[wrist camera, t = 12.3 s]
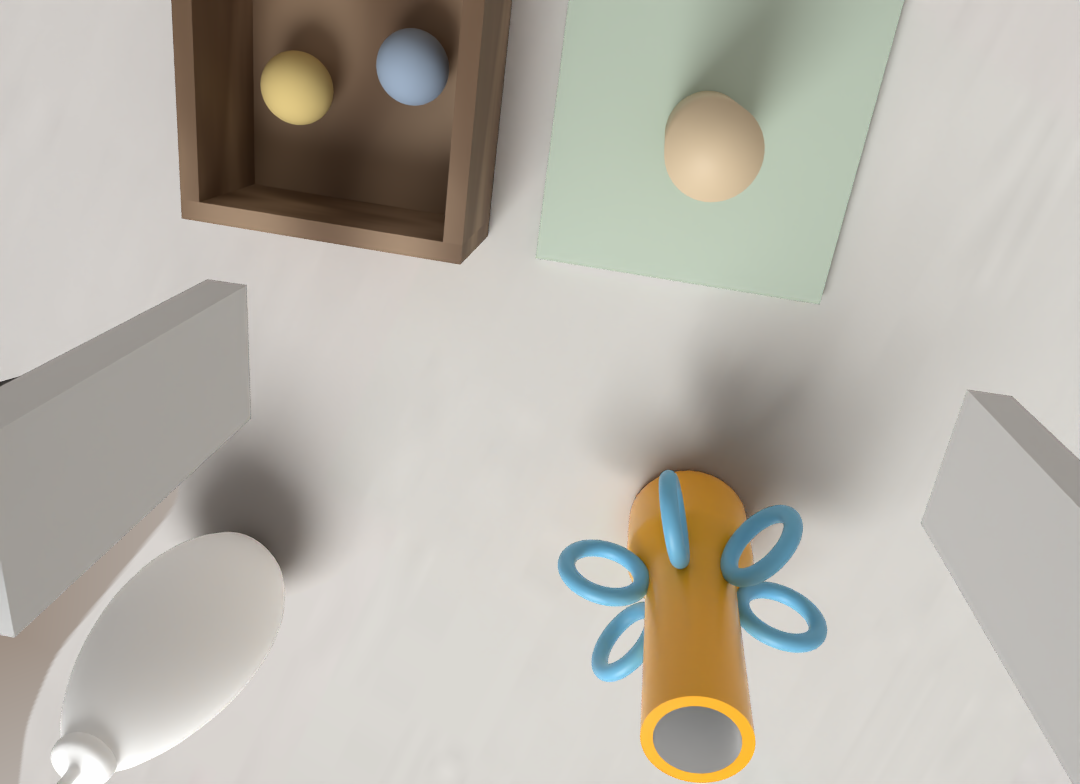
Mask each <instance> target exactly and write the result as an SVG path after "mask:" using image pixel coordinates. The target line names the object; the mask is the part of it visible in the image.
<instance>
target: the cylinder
mask: <svg viewBox="0 0 1080 784" xmlns="http://www.w3.org/2000/svg"><path fill="white" fill-rule="evenodd" d="M776 523H783V524H784V528H783V532H782V535H781V537H780V539H779V540H778V542H777V543H776V545H775V546H774V547H773V549H772V550H771V551H770V552H769V553H768V554H767V555H766V556H765V557H764V558H762V559H761V560H760V561H758V562H757V563H755V564H753V553H752V547H751V540H752V539H753V538H754V537H755V536H756V535H757V534H758V533H759V532H761V531H762V530H763V529H765V528H767V527H768V526H770V525H773V524H776ZM802 532H803V523H802V519H801V517H800V515H799V513H798V512H797V511H796V510H795V509H793V508H791V507H789V506H786V505H775V506H771V507H768V508H765V509H763V510H761V511H759V512H757V513H755V514H754V515H752V516H751V517H750V518H748V519H747V518H746V513H745V509H744V506H743V504H742V502H741V500H740V498H739V497H738V495H737V494H736V493H735V492H734V490H733V489H732V488H731V487H729V486H728V485H727V484H726V483H724V482H723V481H722V480H720V479H718V478H716V477H714V476H712V475H709V474H706V473H703V472H698V471H691V470H687V471H676V472H674V471H671V470H666V471H664V472H662V473H661V475H660V477H657V478H656V479H654V480H653V481H651V482H650V483H648V484H647V485H646V486H645V487H644V488H643V489H642V490H641V491H640V492H639V494H638V495H637V497H636V498H635V500H634V502H633V504H632V507H631V511H630V518H629V529H628V542H627V549H626V548H624V547H622V546H620V545H617V544H615V543H611V542H607V541H602V540H582V541H578V542H575V543H573V544H571V545H569V546H568V547H566V548H565V549H564V550H563V551H562V553H561V554H560V557H559V560H558V570H559V574H560V576H561V578H562V580H563V581H564V583H565V584H566V585H567V586H568V587H569V588H570V589H571V590H572V591H573V592H575V593H576V594H577V595H579V596H581V597H582V598H584V599H586V600H589V601H591V602H594V603H597V604H601V605H606V606H626V605H630V604H633V603H635V602H637V601H639V600H641V599H642V598H644V599H645V602H639V603H635V604H633V605H631V606H629V607H627V608H626V609H624V610H623V611H622V612H620V613H619V614H618V615H617V616H616V617H615V618H614V619H613V620H612V621H611V622H610V623H609V624H608V625H607V627H606V628H605V629H604V631H603V632H602V634H601V635H600V637H599V639H598V641H597V643H596V645H595V648H594V651H593V654H592V669H593V672H594V674H595V675H596V676H597V677H598V678H599V679H600V680H603V681H606V682H613V681H617V680H620V679H622V678H624V677H626V676H628V675H629V674H631V673H632V672H633V671H635V670H636V669H637V668H638V667H639V666H640V665H641V664H642V663H643V676H642V703H641V730H640V740H641V745H642V748H643V751H644V753H645V755H646V756H647V758H648V759H649V760H650V762H651V763H652V764H653V765H654V766H655V767H657V768H658V769H659V770H661V771H662V772H664V773H666V774H668V775H670V776H672V777H674V778H677V779H680V780H684V781H688V782H697V783H707V782H715V781H720V780H723V779H726V778H729V777H731V776H733V775H735V774H736V773H738V772H739V771H741V770H742V769H743V768H744V767H745V766H746V765H747V764H748V762H749V761H750V760H751V758H752V756H753V753H754V750H755V734H754V726H753V719H752V711H751V703H750V696H749V688H748V680H747V672H746V664H745V657H744V649H743V641H742V633H741V626H742V627H743V628H744V629H745V630H746V631H747V632H748V633H749V634H750V635H751V636H753V637H754V638H756V639H757V640H759V641H760V642H762V643H764V644H766V645H768V646H771V647H773V648H776V649H779V650H783V651H787V652H795V653H801V652H808V651H812V650H814V649H816V648H818V647H819V646H820V645H821V644H822V643H823V642H824V640H825V638H826V635H827V625H826V621H825V619H824V617H823V615H822V613H821V612H820V611H819V609H818V608H817V607H816V606H815V605H814V604H813V603H812V602H811V601H810V600H808V599H807V598H806V597H804V596H803V595H801V594H800V593H798V592H796V591H794V590H792V589H790V588H788V587H786V586H783V585H780V584H776V583H772V582H765V580H766V579H768V578H770V577H771V576H773V575H774V574H775V573H776V572H778V571H779V570H780V569H781V568H782V567H783V566H784V565H785V564H786V563H787V562H788V560H789V559H790V558H791V557H792V555H793V554H794V552H795V550H796V549H797V547H798V545H799V542H800V540H801V537H802ZM588 556H597V557H603V558H607V559H610V560H613V561H615V562H617V563H619V564H621V565H622V566H624V567H625V568H626V569H627V570H628V572H629V575H630V578H631V581H632V584H630V585H629V586H626V587H622V588H609V587H604V586H600V585H597V584H595V583H593V582H591V581H589V580H587V579H586V578H584V577H583V576H582V575H581V574H580V573H579V572H578V571H577V569H576V567H575V562H576V561H577V560H578V559H580V558H583V557H588ZM758 598H765V599H771V600H775V601H778V602H781V603H783V604H785V605H787V606H789V607H791V608H792V609H794V610H795V611H797V612H798V613H799V614H800V615H801V616H802V617H803V618H804V619H805V620H806V622H807V624H808V626H809V630H808V631H807V632H805V633H801V634H792V633H787V632H783V631H780V630H777V629H775V628H773V627H771V626H769V625H767V624H765V623H764V622H762V621H761V620H760V619H759V618H758V617H756V616H755V614H754V613H753V612H752V611H751V609H750V606H749V602H750V601H751V600H753V599H758ZM640 619H644V629H643V631H642V633H641V635H640V637H639V639H638V640H637V642H636V643H635V645H634V646H633V647H632V648H631V649H630V650H629V652H628V653H626V654H625V655H624V656H623V657H622V658H621V659H619V660H618V661H616V662H614V663H611V664H608V657H609V654H610V651H611V649H612V647H613V645H614V644H615V642H616V641H617V639H618V638H619V636H620V635H621V634H622V633H623V632H624V631H625V630H626V629H627V628H628V627H629V626H630V625H632V624H633V623H634V622H636V621H638V620H640Z"/></svg>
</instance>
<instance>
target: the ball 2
mask: <svg viewBox="0 0 1080 784" xmlns="http://www.w3.org/2000/svg"><path fill="white" fill-rule="evenodd" d="M376 69H377V75H378V78H379V81H380V83H381V85H382V87H383V88H384V90H385V91H386V92H387V93H388V94H389V95H390V96H391V97H392V98H393V99H395V100H396V101H398V102H400V103H403V104H406V105H412V106H418V105H424V104H427V103H429V102H431V101H433V100H434V99H435V98H437V97H438V96H439V95H440V94H441V92H442V91H443V89H444V88H445V86H446V83H447V80H448V76H449V62H448V57H447V55H446V52H445V50H444V48H443V47H442V45H441V44H440V42H439V41H438V40H437V39H436V38H435V37H434V36H432V35H431V34H429V33H428V32H426V31H423V30H420V29H416V28H405V29H401V30H398V31H396V32H394V33H392V34H391V35H390V36H388V37H387V38H386V39H385V41H384V42H383V43H382V45H381V47H380V49H379V51H378V55H377V60H376Z"/></svg>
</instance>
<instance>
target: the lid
mask: <svg viewBox="0 0 1080 784" xmlns="http://www.w3.org/2000/svg"><path fill="white" fill-rule="evenodd" d="M903 3H904V0H569V2H568V10H567V17H566V25H565V33H564V41H563V49H562V56H561V64H560V72H559V80H558V87H557V95H556V103H555V111H554V119H553V126H552V134H551V142H550V150H549V158H548V165H547V173H546V181H545V189H544V196H543V204H542V212H541V220H540V228H539V235H538V243H537V251H536V258H537V259H544V260H550V261H556V262H562V263H568V264H574V265H580V266H587V267H593V268H599V269H605V270H611V271H617V272H623V273H630V274H636V275H642V276H648V277H654V278H660V279H666V280H672V281H679V282H685V283H691V284H697V285H703V286H709V287H715V288H722V289H728V290H734V291H740V292H746V293H752V294H758V295H765V296H771V297H777V298H783V299H789V300H795V301H801V302H807V303H814V304H820V301H821V297H822V294H823V290H824V287H825V283H826V280H827V276H828V272H829V269H830V265H831V262H832V258H833V254H834V251H835V247H836V244H837V240H838V236H839V233H840V229H841V226H842V222H843V218H844V215H845V211H846V208H847V204H848V201H849V197H850V193H851V190H852V186H853V183H854V179H855V175H856V172H857V168H858V165H859V161H860V157H861V154H862V150H863V147H864V143H865V140H866V136H867V132H868V129H869V125H870V122H871V118H872V114H873V111H874V107H875V104H876V100H877V96H878V93H879V89H880V86H881V82H882V78H883V75H884V71H885V68H886V64H887V61H888V57H889V53H890V50H891V46H892V43H893V39H894V35H895V32H896V28H897V25H898V21H899V17H900V14H901V10H902V7H903Z"/></svg>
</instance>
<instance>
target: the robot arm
mask: <svg viewBox="0 0 1080 784" xmlns="http://www.w3.org/2000/svg"><path fill="white" fill-rule="evenodd" d="M250 419H251V402H250V371H249V341H248V311H247V285H243V284H236V283H229V282H222V281H215V280H208V279H207V280H205V281H203V282H201V283H199V284H197V285H195V286H193V287H191V288H189V289H188V290H186V291H184V292H182V293H180V294H178V295H176V296H174V297H172V298H170V299H168V300H166V301H164V302H162V303H160V304H159V305H157V306H155V307H153V308H151V309H149V310H147V311H145V312H143V313H141V314H139V315H137V316H135V317H133V318H132V319H130V320H128V321H126V322H124V323H122V324H120V325H118V326H116V327H114V328H112V329H110V330H108V331H106V332H104V333H103V334H101V335H99V336H97V337H95V338H93V339H91V340H89V341H87V342H85V343H83V344H81V345H79V346H77V347H76V348H74V349H72V350H70V351H68V352H66V353H64V354H62V355H60V356H58V357H56V358H54V359H52V360H50V361H48V362H47V363H45V364H43V365H41V366H39V367H37V368H35V369H33V370H31V371H29V372H27V373H25V374H23V375H21V376H19V377H16V378H12V379H9V380H5V381H2V382H0V635H4V636H10V637H16V635H18V634H19V633H20V632H21V631H22V630H23V629H24V628H25V627H26V626H27V625H29V624H30V622H32V621H33V620H34V619H35V618H36V617H37V616H38V615H39V614H40V613H41V612H42V611H44V610H45V609H46V608H47V607H48V606H49V605H50V604H51V603H52V602H53V601H54V600H56V598H58V597H59V596H60V595H61V594H62V593H63V592H64V591H65V590H66V589H67V588H68V587H69V586H71V585H72V584H73V583H74V582H75V581H76V580H77V579H78V578H79V577H80V576H81V575H82V574H83V573H85V572H86V571H87V570H88V569H89V568H90V567H91V566H92V565H93V564H94V563H95V562H96V561H97V560H98V559H100V558H101V557H102V556H103V555H104V554H105V553H106V552H107V551H108V550H109V549H111V547H112V546H114V545H115V544H116V543H117V542H118V541H119V540H120V539H121V538H122V537H123V536H125V535H126V534H127V533H128V532H129V531H130V530H131V529H132V528H133V527H134V526H135V525H136V524H137V523H138V522H140V521H141V520H142V519H143V518H144V517H145V516H146V515H147V514H148V513H149V512H150V511H152V510H153V509H154V508H155V507H156V506H157V505H158V504H159V503H160V502H161V501H162V500H163V499H164V498H166V497H167V496H168V495H169V494H170V493H171V492H172V491H173V490H174V489H175V488H176V487H177V486H179V485H180V484H181V483H182V482H183V481H184V480H185V479H186V478H187V477H188V476H189V475H190V474H191V473H193V472H194V471H195V470H196V469H197V468H198V467H199V466H200V465H201V464H202V463H203V462H204V461H205V460H207V459H208V458H209V457H210V456H211V455H212V454H213V453H214V452H215V451H216V450H217V449H218V448H220V447H221V446H222V445H223V444H224V443H225V442H226V441H227V440H228V439H229V438H230V437H231V436H232V435H234V434H235V433H236V432H237V431H238V430H239V429H240V428H241V427H242V426H243V425H244V424H245V423H246V422H248V421H249V420H250ZM921 524H922V526H923V528H924V529H925V531H926V533H927V535H928V536H929V538H930V540H931V541H932V543H933V545H934V547H935V548H936V550H937V552H938V553H939V555H940V557H941V559H942V560H943V562H944V564H945V566H946V567H947V569H948V571H949V572H950V574H951V576H952V578H953V579H954V581H955V583H956V584H957V586H958V588H959V590H960V591H961V593H962V595H963V596H964V598H965V600H966V602H967V603H968V605H969V607H970V608H971V610H972V612H973V614H974V615H975V617H976V619H977V620H978V622H979V624H980V626H981V627H982V629H983V631H984V632H985V634H986V636H987V638H988V639H989V641H990V643H991V645H992V646H993V648H994V650H995V651H996V653H997V655H998V657H999V658H1000V660H1001V662H1002V663H1003V665H1004V667H1005V669H1006V670H1007V672H1008V674H1009V675H1010V677H1011V679H1012V681H1013V682H1014V684H1015V686H1016V687H1017V689H1018V691H1019V693H1020V694H1021V696H1022V698H1023V699H1024V701H1025V703H1026V705H1027V706H1028V708H1029V710H1030V711H1031V713H1032V715H1033V717H1034V718H1035V720H1036V722H1037V723H1038V725H1039V727H1040V729H1041V730H1042V732H1043V734H1044V736H1045V737H1046V739H1047V741H1048V742H1049V744H1050V746H1051V748H1052V749H1053V751H1054V753H1055V754H1056V756H1057V758H1058V760H1059V761H1060V763H1061V765H1062V766H1063V768H1064V770H1065V772H1066V773H1067V775H1068V777H1069V778H1070V780H1071V782H1072V784H1080V460H1079V459H1078V458H1077V457H1076V456H1075V455H1074V454H1073V453H1072V452H1071V451H1070V450H1069V449H1068V448H1067V447H1065V446H1064V445H1063V444H1062V443H1061V442H1060V441H1059V440H1058V439H1057V438H1056V437H1055V436H1054V435H1053V434H1052V433H1051V432H1050V431H1048V430H1047V429H1046V428H1045V427H1044V426H1043V425H1042V424H1041V423H1040V422H1039V421H1038V420H1037V419H1036V418H1035V417H1034V416H1033V415H1031V414H1030V413H1029V412H1028V411H1027V410H1026V409H1025V408H1024V407H1023V406H1022V405H1021V404H1020V403H1019V402H1018V401H1017V400H1016V399H1014V398H1013V397H1012V396H1007V395H1000V394H994V393H987V392H980V391H973V390H967V392H966V395H965V398H964V400H963V403H962V406H961V409H960V412H959V415H958V418H957V420H956V423H955V426H954V429H953V432H952V435H951V438H950V441H949V443H948V446H947V449H946V452H945V455H944V458H943V461H942V464H941V466H940V469H939V472H938V475H937V478H936V481H935V484H934V487H933V489H932V492H931V495H930V498H929V501H928V504H927V507H926V510H925V512H924V515H923V518H922V521H921Z"/></svg>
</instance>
